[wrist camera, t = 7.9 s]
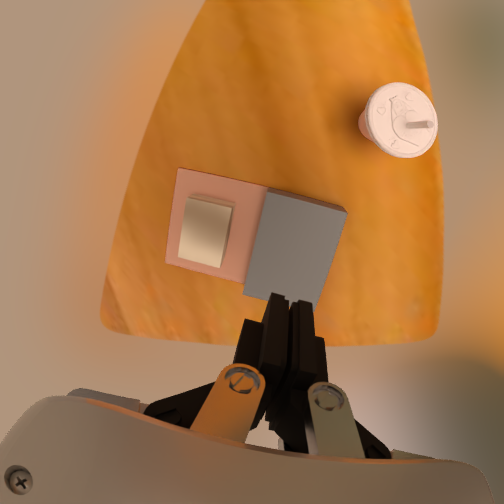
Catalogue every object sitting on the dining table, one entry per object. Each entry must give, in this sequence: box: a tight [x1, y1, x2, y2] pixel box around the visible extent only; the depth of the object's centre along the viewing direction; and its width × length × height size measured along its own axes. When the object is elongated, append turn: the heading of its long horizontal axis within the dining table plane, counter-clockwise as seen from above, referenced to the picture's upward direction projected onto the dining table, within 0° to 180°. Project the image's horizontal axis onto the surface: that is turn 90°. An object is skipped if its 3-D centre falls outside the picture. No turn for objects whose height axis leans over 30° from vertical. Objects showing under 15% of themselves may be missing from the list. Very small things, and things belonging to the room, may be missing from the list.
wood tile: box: [178, 194, 236, 268], centre depth 34 cm, size 7×5×2 cm
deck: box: [243, 187, 348, 312], centre depth 34 cm, size 12×8×3 cm
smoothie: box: [358, 82, 438, 158], centre depth 23 cm, size 6×6×14 cm
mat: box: [165, 168, 269, 284], centre depth 35 cm, size 12×10×1 cm
